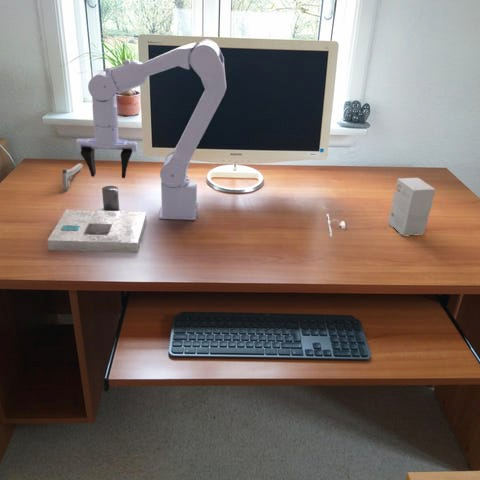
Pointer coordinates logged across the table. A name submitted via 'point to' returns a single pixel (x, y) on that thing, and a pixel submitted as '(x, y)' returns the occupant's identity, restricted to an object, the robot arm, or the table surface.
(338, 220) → the picture light
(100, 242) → the plate
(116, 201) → the cylinder
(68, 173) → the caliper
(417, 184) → the small box
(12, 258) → the table surface
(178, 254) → the table surface
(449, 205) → the table surface
